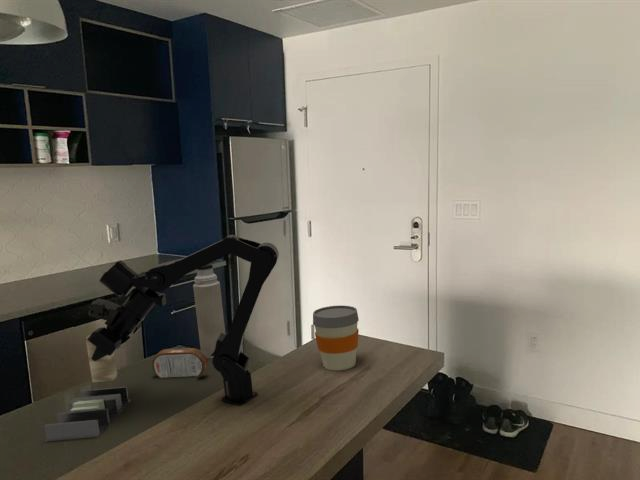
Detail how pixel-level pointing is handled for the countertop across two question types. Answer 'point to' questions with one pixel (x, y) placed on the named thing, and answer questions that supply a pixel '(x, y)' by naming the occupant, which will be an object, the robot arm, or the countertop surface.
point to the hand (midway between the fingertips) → (95, 357)
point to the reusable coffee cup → (336, 336)
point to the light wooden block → (101, 365)
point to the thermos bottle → (208, 309)
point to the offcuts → (88, 405)
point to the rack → (88, 415)
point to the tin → (179, 363)
